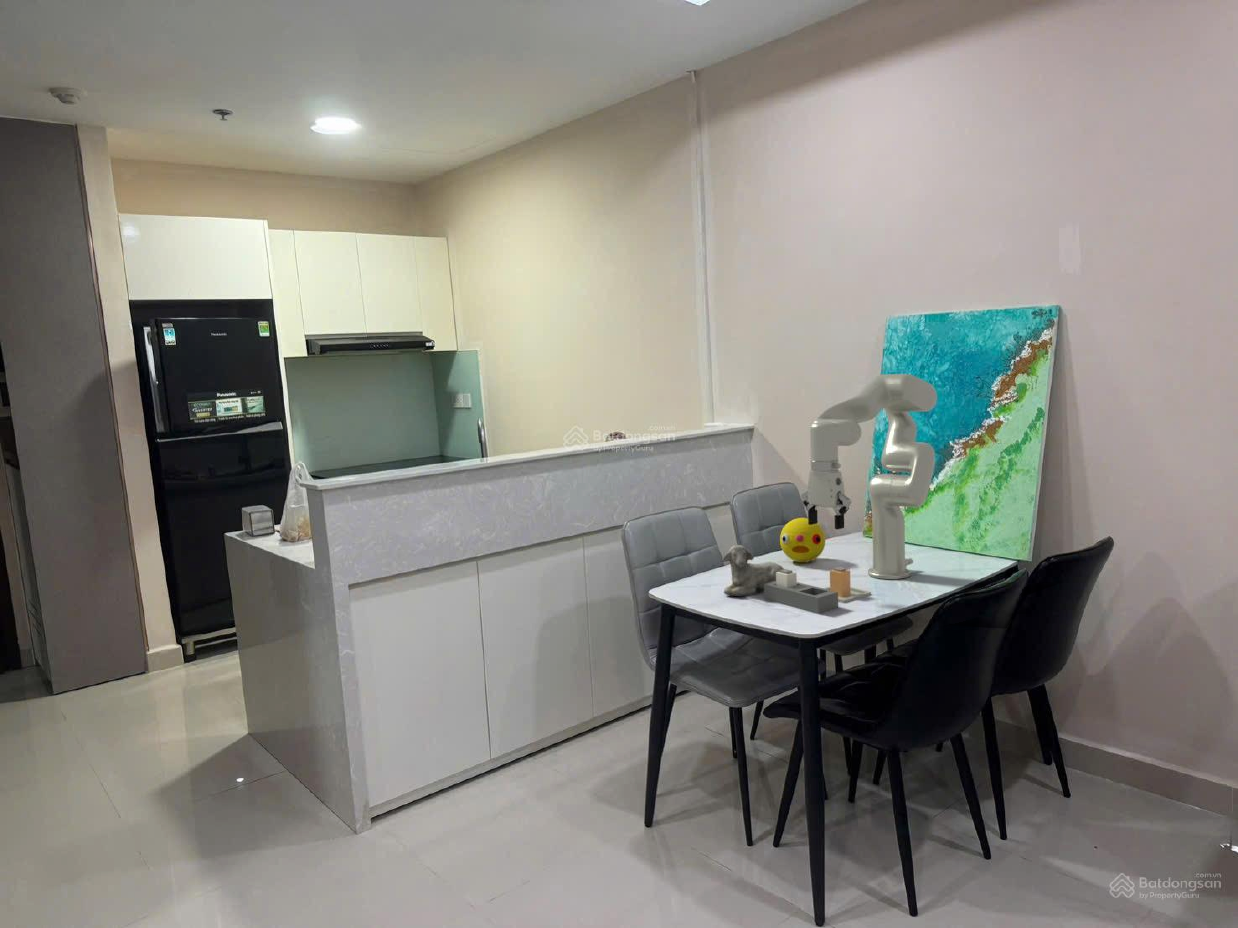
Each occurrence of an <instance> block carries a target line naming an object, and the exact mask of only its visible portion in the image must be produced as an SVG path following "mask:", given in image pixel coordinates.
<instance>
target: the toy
mask: <svg viewBox="0 0 1238 928" xmlns="http://www.w3.org/2000/svg"><path fill="white" fill-rule="evenodd" d="M784 525H785V526H783V528H782V530H781V532H780V536H779V543H780V547H781V549H782V551H783V553H784V554H785V556H786V557H788V558H789V559H790V560H792V561H795V562H796V563H809V562H812V561H814V560H817V558H818V557H820V556H821V554H822V553H823V551H824V550H825V546H826V535H825V533H824V530H823V527H821V525H820V524H818V523H817V524H812V525H809V524H808V517H807V518H806V517H798V518H794V519H792V520H790V521H789V522H787V523H786V524H784Z"/></svg>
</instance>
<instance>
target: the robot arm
mask: <svg viewBox="0 0 1238 928" xmlns="http://www.w3.org/2000/svg"><path fill="white" fill-rule="evenodd" d="M937 394H938V393H937V391H936V389H935V387H934V385H932V384H931V383H930V382H928V381H925V380H923V379H921V378H920V377H917V376H915V375H912V374H910V373H909V374H908V373H894V374H893V373H891V374H890V373H889V374H879V375H876V376H875V377H873V378H872V379H871V380H870V381H869V382H868V383H867V384H866V385H865V386H864V387H862V388H861V390H860V391H858V392H857V394H856V395H855V396H852V397H851V398H847V399H846V400H843V401H841V402H839V403H837V404H833V406H830V407H828V408H827V409H825V410H824V411H823V412H822V413H820V415H819V416H817V418H815V420H814V421H813V422H812V423H811V424H810V427H809V440H810V441H809V444H810V471H809V473H808V482H807V490H806V491H804V492H803V493H801V494H800V498H801V499H802V502H803V505H804V507H805V511H807V516H808V517H807V519H808V524H809V525H812V524H818V509H816V508H817V507H823V508H831V509H833V511H834V512H835V514H834V529H835V530H841V529H844V528H845V515H846V514H847V511H848V510H849V509H850V507H851V503H852V499H850V498H849V497H847V496H846V495H845V485H844V479H843V478H844V477H843V475H842V474H843V473H842V472H841V470H840V468H841V467H842V465H841V463H839V446H841V447H843V446H844V447H850V446H853V445H855V444H857V443H858V442H859V441H860V439H861V437H862V427H861V426H860V425H859V424H861V423H864V422H868V421H871V420H873V419H875V418H876V417H877V416H878V415H879V414H880V413H881V411H883V410H884V412H885V414H886V417H887V422H888V430H887V434H886V438H885V441H884V445H883V449H882V455H881V458H880V459H881V465H882V467H883V468H884V469H885V470H886V471H890V472H895V473H906V474H907V473H908V474H909V473H910V475H905V474H895V473H879V474H876V475H874V476H872V478H871V479H870V481H869V483H868V489H867V490H868V495H869V500H870V505H871V514H872V515H871V516H872V517H871V518H872V567H870V568H869V569H868V570H867V575H869V576H870V577H873V578H875V579H883V580H899V579H907V578H908V577H910V576H911V571H910V569H908V568H907V566H909V565H912V564H914V560H913V558H912V557H909V558H906V547H905V546H906V537H905V536H906V535H905V534H906V533H905V532H906V530H905V529H906V528H905V527H906V521H905V515H904V513H903V512H902V509H901V508H900V507H904V508H919V507H922V506H923V505H924V504H925V502H926V501H927V498H928V496H929V491H930V487H931V483H932V478H933V475H934V470H935V466H936V452H935V450H934V448H933V446H932V445H931V444H929V443H926V442H921V441H920V442H918V441H916V438H917V432H918V428H917V424H916V422H915V420H914V419H913V417H912V416H911V415H910V413H909V412H913V413H914V412H916V413H917V412H919V413H921V412H923V413H925V412H929V411H931V410H933V409H934V408H935V406H936V404H937V401H938V395H937Z"/></svg>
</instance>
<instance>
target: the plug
mask: <svg viewBox="0 0 1238 928" xmlns="http://www.w3.org/2000/svg"><path fill="white" fill-rule="evenodd" d="M829 586H830V590H832V591H836V592H838V596H839V597H844V596H847V595H850V594H851V590H850V587H851V570H849V569H847V568H845V567H841V566H837V567H835V568H833V569H831V570H829Z"/></svg>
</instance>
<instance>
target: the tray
mask: <svg viewBox="0 0 1238 928" xmlns="http://www.w3.org/2000/svg"><path fill="white" fill-rule="evenodd" d="M822 588H823V589H828V590H830V585H829V586H827V587H822ZM850 590H851V594H850V595H847V596H844V597H839V596H838V603H842V604H845V603H848V602H852V601H855V600H857V599H861V598H864V597H867V596H871V595H872V591H868V590H864V589H861V588H857V587H856V588H855V587H852V586H850Z"/></svg>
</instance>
